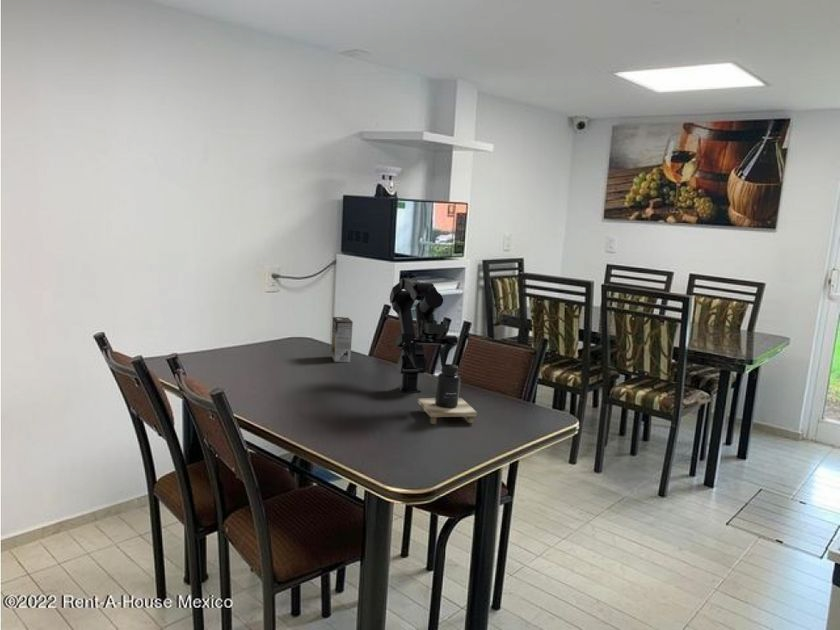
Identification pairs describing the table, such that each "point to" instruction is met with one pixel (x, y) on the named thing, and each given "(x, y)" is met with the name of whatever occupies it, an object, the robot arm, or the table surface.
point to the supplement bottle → (447, 387)
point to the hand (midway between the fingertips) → (429, 367)
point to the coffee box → (341, 339)
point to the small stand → (446, 410)
